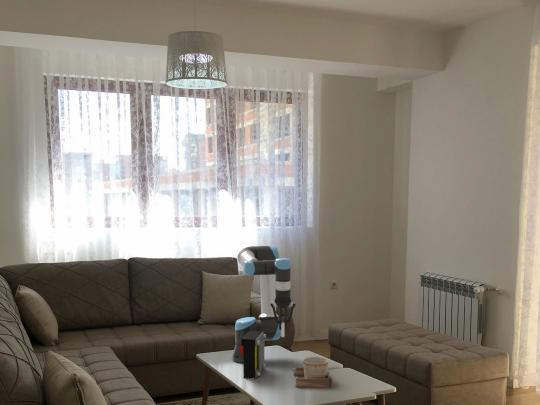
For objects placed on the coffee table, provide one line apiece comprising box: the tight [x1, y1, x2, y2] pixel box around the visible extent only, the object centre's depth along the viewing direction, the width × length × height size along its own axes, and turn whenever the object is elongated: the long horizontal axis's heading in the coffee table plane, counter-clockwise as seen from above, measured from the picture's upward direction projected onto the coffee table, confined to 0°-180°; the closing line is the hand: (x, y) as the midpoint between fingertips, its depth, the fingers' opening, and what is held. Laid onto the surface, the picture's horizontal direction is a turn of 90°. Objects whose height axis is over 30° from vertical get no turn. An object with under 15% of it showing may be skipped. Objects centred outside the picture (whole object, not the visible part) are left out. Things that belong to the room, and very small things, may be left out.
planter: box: [302, 356, 329, 378], centre depth 273 cm, size 13×13×10 cm
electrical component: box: [240, 331, 267, 379], centre depth 286 cm, size 18×10×20 cm, turn 168°
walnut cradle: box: [293, 366, 332, 388], centre depth 273 cm, size 18×17×4 cm
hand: (282, 336), depth 272 cm, fingers closed
